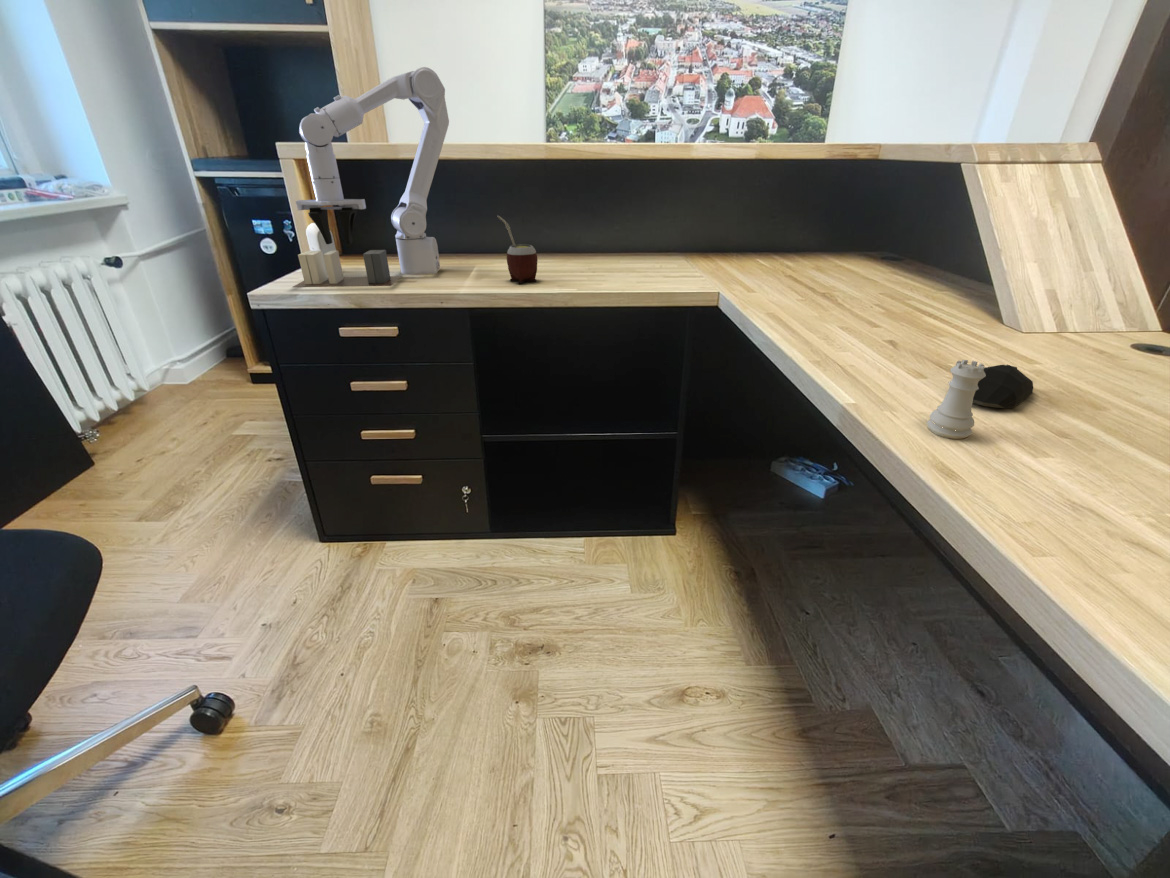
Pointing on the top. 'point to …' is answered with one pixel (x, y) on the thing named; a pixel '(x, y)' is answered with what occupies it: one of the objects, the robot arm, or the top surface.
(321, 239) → the photo printer
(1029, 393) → the gaming mouse
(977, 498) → the top surface
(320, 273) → the beige books
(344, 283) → the shelf board
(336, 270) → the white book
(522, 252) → the mate gourd
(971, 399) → the rook chess piece
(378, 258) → the grey books
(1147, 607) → the top surface
